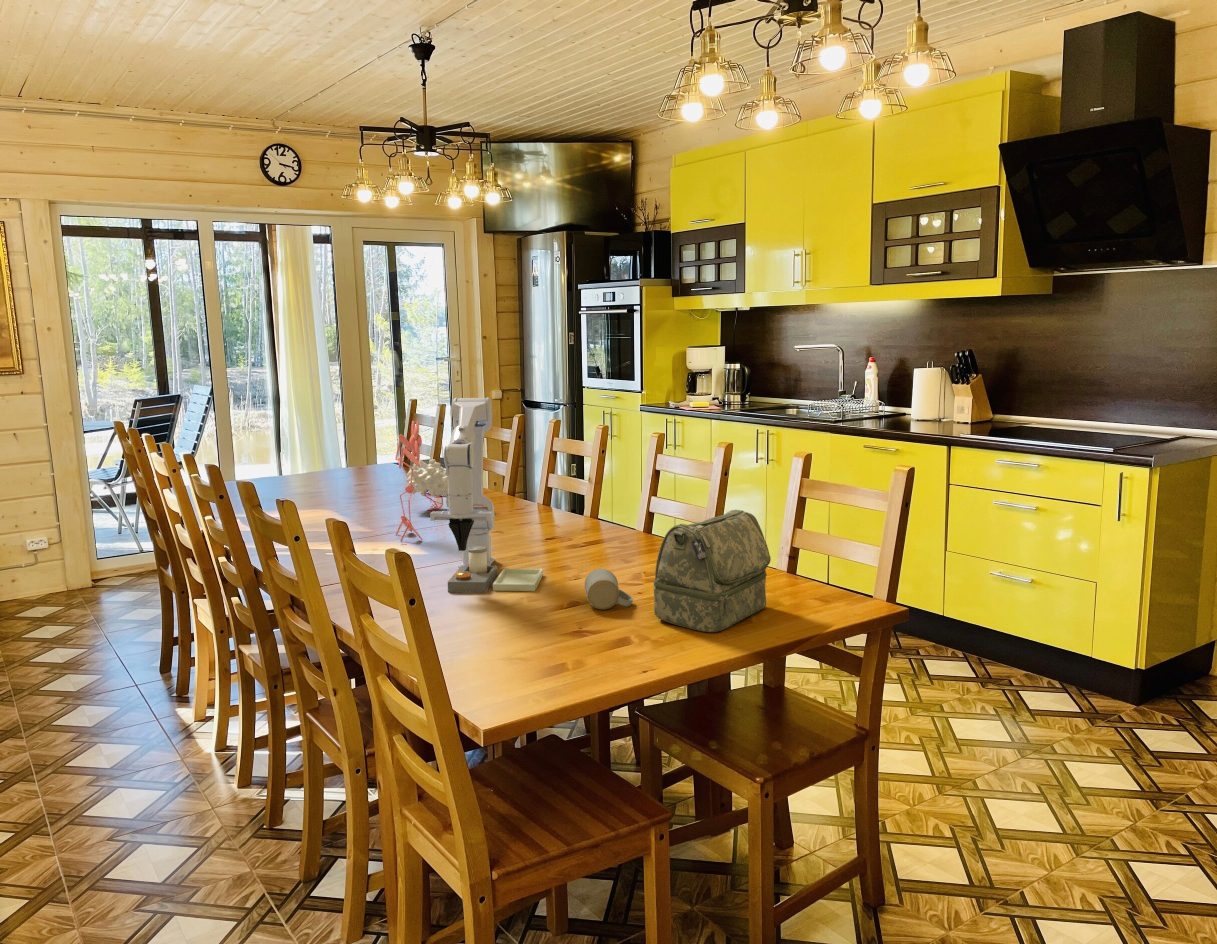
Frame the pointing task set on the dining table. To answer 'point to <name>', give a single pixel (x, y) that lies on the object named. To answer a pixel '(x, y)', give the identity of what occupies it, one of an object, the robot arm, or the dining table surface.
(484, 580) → the housing
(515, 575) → the tray
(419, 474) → the lumpy white molecule
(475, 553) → the cylinder
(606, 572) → the ceramic mug
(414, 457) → the figurine
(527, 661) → the dining table surface
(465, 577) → the orange round piece
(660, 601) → the lunch bag
